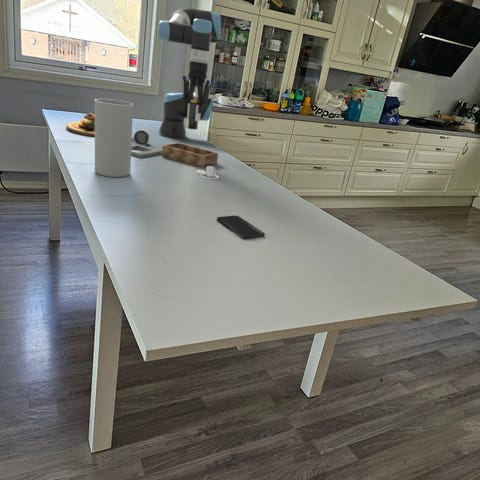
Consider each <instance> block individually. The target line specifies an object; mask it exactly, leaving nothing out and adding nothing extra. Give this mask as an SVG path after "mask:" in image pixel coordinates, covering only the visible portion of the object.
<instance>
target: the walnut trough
mask: <svg viewBox="0 0 480 480" xmlns="http://www.w3.org/2000/svg"><path fill="white" fill-rule="evenodd" d="M161 149H162V150H161V151H162V154H161V157H164V158H167V159H171V160H174V161H178V162H181V163H185V164H189V165H192V166H196V167H200V168H202V167H203V168H207V167H206V166H210V165H211V166H214V164H215V165H217V164H218V158H219V152H215V151H212V150H208V149H205V148H201V147H196V146H194V145H189V144H185V143H182V142H173V143H167V144H163V145H162V147H161Z"/></svg>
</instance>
